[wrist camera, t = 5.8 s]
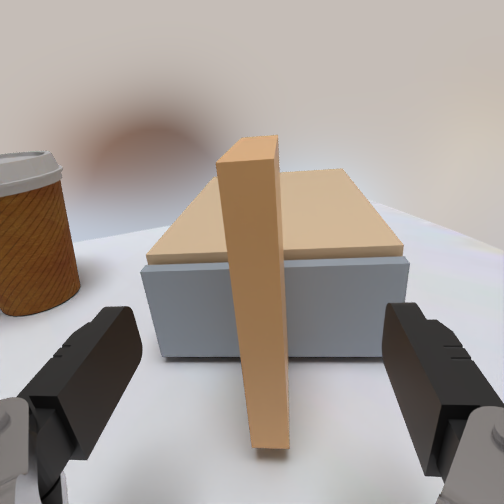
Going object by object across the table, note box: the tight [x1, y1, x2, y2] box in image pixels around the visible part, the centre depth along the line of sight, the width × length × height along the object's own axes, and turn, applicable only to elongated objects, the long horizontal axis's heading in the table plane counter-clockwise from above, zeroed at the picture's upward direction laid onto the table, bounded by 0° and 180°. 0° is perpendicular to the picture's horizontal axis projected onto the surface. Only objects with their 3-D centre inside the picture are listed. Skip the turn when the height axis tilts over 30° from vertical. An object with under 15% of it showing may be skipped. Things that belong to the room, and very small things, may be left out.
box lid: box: [146, 169, 404, 265], centre depth 28 cm, size 20×14×7 cm
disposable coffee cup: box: [0, 151, 80, 316], centre depth 27 cm, size 10×10×12 cm
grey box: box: [140, 135, 410, 449], centre depth 23 cm, size 26×14×12 cm, turn 175°
